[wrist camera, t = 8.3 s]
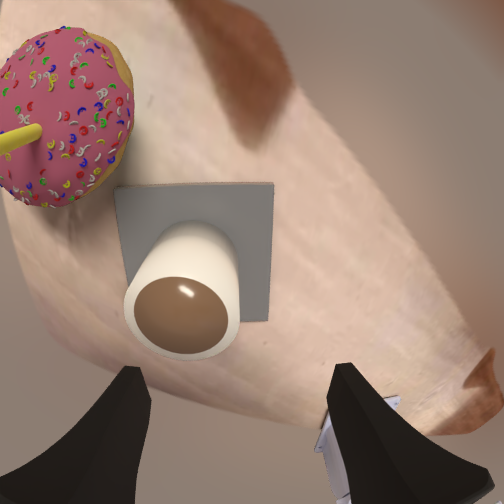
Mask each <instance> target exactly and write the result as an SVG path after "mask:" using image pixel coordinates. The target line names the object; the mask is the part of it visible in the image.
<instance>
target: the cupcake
mask: <svg viewBox="0 0 504 504" xmlns="http://www.w3.org/2000/svg"><path fill="white" fill-rule="evenodd" d="M15 51H16V52H15ZM15 51H14V52H13V55H12V56H11V57H10V59H9V58H8V59H7V61H6V63H5V65H4V66H3V67H2V69H0V186H1V187H4V188H5V189H6V190H7V191H8V192H9V193H10V194H12V195H13V196H14V197H15V198H14V201H17V200H20V201H22V202H24V203H25V204H26V205H34V206H42V207H53V208H55V209H56V207H60V206H64V205H67V204H69V203H71V202H73V201H74V200H77V199H79V198H81V197H83V196H85V195H87V194H88V193H90V192H92V191H93V190H95V189H96V188H97V187H98V186H99V185H100V184H101V183H102V182H103V181H104V180H105V179H106V178H107V177H108V176H109V175H110V174H111V173H112V172H113V171H114V170H115V169H116V168H117V166H118V165H119V163H120V161H121V159H122V156H123V153H124V150H125V146H126V143H127V141H128V138H129V136H130V134H131V131H132V129H133V125H134V89H133V78H132V73H131V71H130V69H129V67H128V65H127V64H126V62H125V60H124V59H123V57H122V55H121V53H120V51H119V49H118V48H117V47H116V46H115V45H114V44H113V43H112V42H111V41H109V40H107V39H106V38H103V37H101V36H98V35H95V34H92V33H88V32H86V31H85V30H84V29H82V28H71V27H67V28H66V27H65V26H62V27H61V28H60V29H56V30H53V31H49V32H45V33H42V34H39V35H37V36H35V37H33V38H32V39H30V40H29V39H28V40H26V41H25V42H24V43H23V44H22V45H21V47H20V48H19V49H16V50H15ZM15 199H16V200H15Z"/></svg>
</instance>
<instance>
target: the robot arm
mask: <svg viewBox="0 0 504 504" xmlns="http://www.w3.org/2000/svg"><path fill="white" fill-rule="evenodd" d="M326 398H327V404H328V410H329V411H328V414H327V417H326V420H325V422H324V425H323V428H322V430H321V433H320V436H319V438H318V441H317V443H316V446H315V448H314V451H315V452H317V453H318V452H323V455H324V459H325V464H326V467H327V472H328V477H329V482H330V486H331V490H332V492H333V494H334V495H335V497H336V498H337V499H339V500H336V504H473V503H475V502H476V501H478V500H479V499H481V498H482V497H483V496H485V495H486V494H487V493H489V492H490V491H491V490H493V489H494V487H495V484H494V482H493V480H492V478H491V476H490V474H489V472H488V470H487V469H486V468H483V467H481V466H478V465H476V464H473V463H471V462H468V461H466V460H464V459H462V458H460V457H457V456H456V455H454V454H452V453H450V452H448V451H447V450H445V449H443V448H442V447H440V446H439V445H437V444H435V443H433V442H432V441H430V440H429V439H428V438H426V437H425V436H424V435H422V434H421V433H420V432H418V431H417V430H416V429H415V428H413V427H412V426H411V425H410V424H409V423H407V422H406V421H405V420H404V419H403V418H402V417H401V416H400V415H399V414H398V413H397V412H396V411H395V409H396V408H397V406H398V404H399V402H400V401H401V398H400V396H395V397H390V398H385V399H383V398H382V397H381V396H380V395H379V394H378V393H377V392H376V390H375V389H374V388H373V387H372V386H371V385H370V384H369V382H368V381H367V380H366V379H365V378H364V377H363V375H362V374H361V373H360V372H359V371H358V370H357V368H356V367H355V366H354V365H353V364H352V363H351V362H350V363H341V364H336V365H335V369H334V373H333V376H332V380H331V383H330V387H329V390H328V394H327V397H326ZM150 409H151V398H150V395H149V392H148V390H147V387H146V384H145V381H144V378H143V375H142V372H141V369H140V367H133V366H124V367H123V368H122V370H121V371H120V372H119V373H118V375H117V376H116V377H115V379H114V380H113V381H112V383H111V384H110V385H109V386H108V388H107V389H106V390H105V391H104V393H103V394H102V395H101V396H100V398H99V399H98V400H97V401H96V402H95V404H94V405H93V406H92V407H91V408H90V409H89V411H88V412H87V413H86V414H85V415H84V416H83V417H82V418H81V419H80V420H79V421H78V423H77V424H76V425H75V426H74V427H73V428H72V429H71V430H70V431H69V432H67V433H66V434H65V435H64V436H63V437H62V438H61V439H60V440H59V441H57V442H56V443H55V444H54V445H52V446H51V447H50V448H49V449H48V450H46V451H45V452H43V453H42V454H41V455H39V456H38V457H36V458H34V459H33V460H31V461H30V462H28V463H27V464H25V465H23V466H22V467H20V468H18V469H16V470H14V471H12V472H10V473H8V474H6V475H3V476H1V477H0V504H135V491H136V478H137V473H138V467H139V463H140V459H141V454H142V450H143V446H144V442H145V437H146V433H147V429H148V425H149V418H150ZM495 504H502V503H501V501H497V502H496V503H495Z"/></svg>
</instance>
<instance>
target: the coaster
mask: <svg viewBox="0 0 504 504" xmlns="http://www.w3.org/2000/svg"><path fill="white" fill-rule="evenodd" d="M113 191H114V200H115V208H116V216H117V223H118V230H119V237H120V243H121V249H122V255H123V260H124V266H125V271H126V276H127V281H128V286H130V284H131V283H132V281H133V279H134V277H135V275H136V274H137V272H138V270H139V268H140V267H141V265H142V263H143V262H144V260H145V258H146V256H147V255H148V253H149V251H150V250H151V248H152V246H153V245H154V243H155V241H156V240H157V238H158V237H159V235H160V234H161V233H162V232H163V231H164V230H165V229H167V228H168V227H170V226H171V225H173V224H176V223H179V222H182V221H188V220H196V221H202V222H207V223H209V224H212V225H214V226H216V227H218V228H219V229H221V230H222V231H223V232H224V233H225V234H226V235H227V236H228V237H229V238H230V239H231V241H232V242H233V244H234V246H235V248H236V251H237V255H238V272H239V308H240V321H268V312H269V293H270V273H271V252H272V230H273V205H274V183H273V182H211V183H176V184H154V185H137V186H122V187H116V188H115V189H113Z"/></svg>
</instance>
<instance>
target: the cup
mask: <svg viewBox="0 0 504 504" xmlns="http://www.w3.org/2000/svg"><path fill="white" fill-rule="evenodd" d="M124 315H125V319H126V322H127V324H128V326H129V328H130V330H131V332H132V333H133V334H134V336H135V337H136V338H137V339H138V340H139V341H140V342H141V343H142V344H143V345H144V346H146V347H147V348H149V349H150V350H152V351H154V352H155V353H157V354H160V355H162V356H164V357H168V358H171V359H176V360H183V361H195V360H202V359H206V358H209V357H212V356H214V355H217V354H218V353H220V352H222V351H223V350H224V349H226V348H227V347H228V346H229V345H230V344H231V343H232V341H233V340H234V338H235V337H236V335H237V332H238V329H239V324H240V308H239V272H238V255H237V251H236V248H235V246H234V244H233V242H232V241H231V239H230V238H229V237H228V236H227V235H226V234H225V233H224V232H223V231H222V230H221V229H219V228H218V227H216V226H214V225H212V224H209V223H207V222H202V221H196V220H188V221H182V222H179V223H176V224H173V225H171V226H170V227H168V228H167V229H165V230H164V231H163V232H162V233H161V234H160V235H159V237H158V238H157V240H156V241H155V243H154V245H153V246H152V248H151V250H150V251H149V253H148V255H147V256H146V258H145V260H144V262H143V263H142V265H141V267H140V268H139V270H138V272H137V274H136V275H135V277H134V279H133V281H132V283H131V284H130V286H129V288H128V290H127V292H126V295H125V299H124Z"/></svg>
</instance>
